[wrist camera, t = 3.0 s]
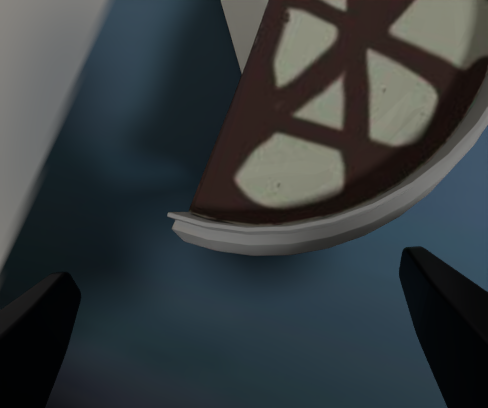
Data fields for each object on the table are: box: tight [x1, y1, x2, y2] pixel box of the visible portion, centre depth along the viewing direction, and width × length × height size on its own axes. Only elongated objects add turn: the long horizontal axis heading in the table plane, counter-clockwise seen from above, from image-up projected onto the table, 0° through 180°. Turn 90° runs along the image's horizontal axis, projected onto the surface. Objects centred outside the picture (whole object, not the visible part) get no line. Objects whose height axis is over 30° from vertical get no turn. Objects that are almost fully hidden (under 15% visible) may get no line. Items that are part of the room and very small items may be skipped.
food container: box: [167, 0, 488, 256], centre depth 12 cm, size 12×6×10 cm, turn 158°
